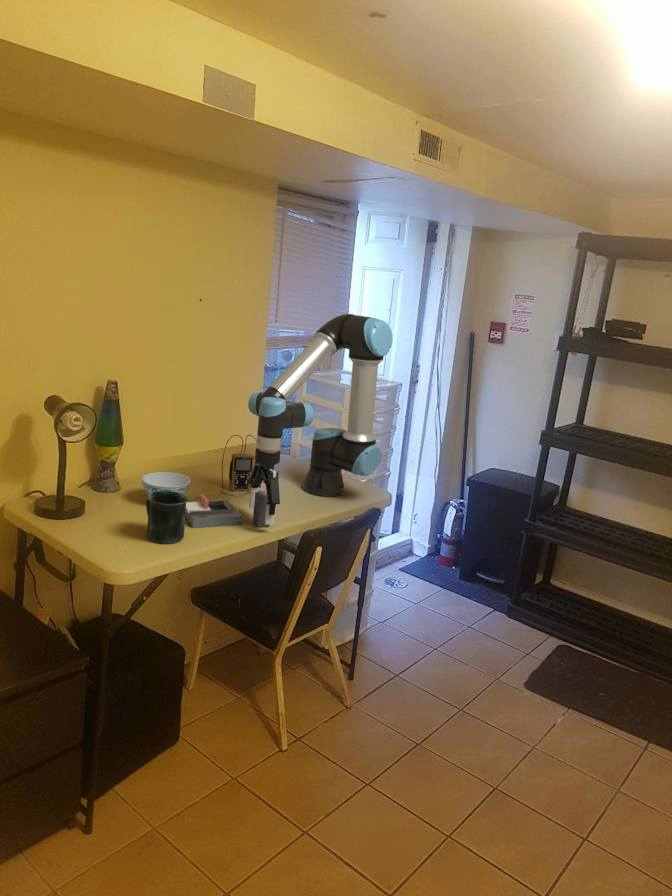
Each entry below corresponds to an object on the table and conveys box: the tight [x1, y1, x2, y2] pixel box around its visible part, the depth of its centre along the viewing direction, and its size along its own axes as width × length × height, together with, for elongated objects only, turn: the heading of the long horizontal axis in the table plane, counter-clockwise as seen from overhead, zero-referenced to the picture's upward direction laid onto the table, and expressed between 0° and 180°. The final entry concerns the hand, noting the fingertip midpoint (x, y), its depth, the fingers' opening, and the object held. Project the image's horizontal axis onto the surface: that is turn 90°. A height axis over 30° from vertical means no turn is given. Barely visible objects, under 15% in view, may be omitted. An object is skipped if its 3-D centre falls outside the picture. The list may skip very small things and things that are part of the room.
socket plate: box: [185, 499, 243, 529], centre depth 214 cm, size 15×14×4 cm
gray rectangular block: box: [252, 490, 271, 529], centre depth 212 cm, size 4×4×11 cm
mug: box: [145, 491, 189, 545], centre depth 196 cm, size 11×15×12 cm
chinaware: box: [141, 471, 191, 496], centre depth 222 cm, size 15×15×8 cm
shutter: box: [186, 494, 210, 513], centre depth 212 cm, size 7×7×3 cm
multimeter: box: [221, 434, 261, 498], centre depth 238 cm, size 15×10×20 cm
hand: (261, 515), depth 213 cm, fingers open, 13 cm apart
